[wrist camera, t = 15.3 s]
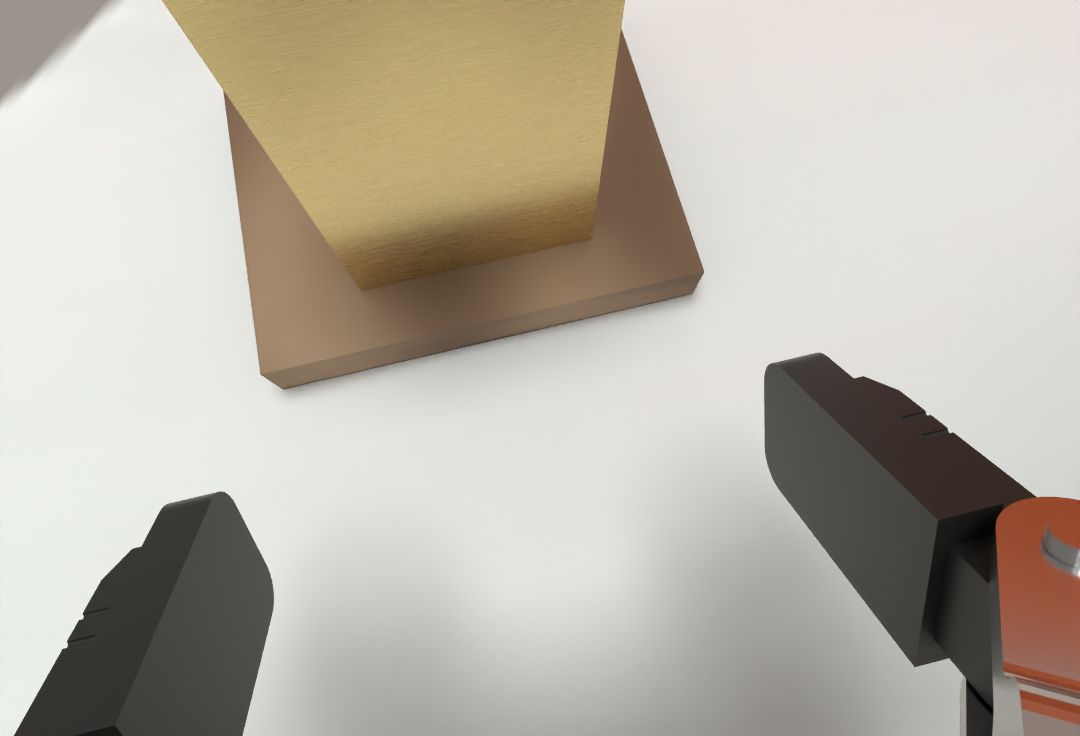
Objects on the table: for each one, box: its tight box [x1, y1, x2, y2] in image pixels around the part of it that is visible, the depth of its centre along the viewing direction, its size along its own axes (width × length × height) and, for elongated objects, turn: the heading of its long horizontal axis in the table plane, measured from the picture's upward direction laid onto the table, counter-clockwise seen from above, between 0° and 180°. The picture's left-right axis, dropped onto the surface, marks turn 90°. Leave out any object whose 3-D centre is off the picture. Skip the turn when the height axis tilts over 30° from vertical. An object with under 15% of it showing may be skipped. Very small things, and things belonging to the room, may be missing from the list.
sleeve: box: [162, 0, 625, 291], centre depth 14 cm, size 6×6×10 cm
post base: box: [223, 29, 704, 389], centre depth 16 cm, size 12×10×10 cm
